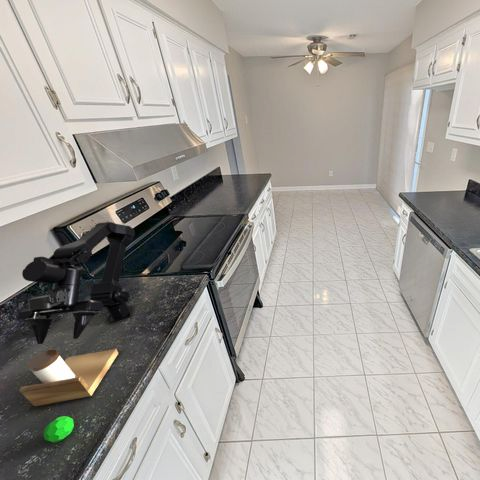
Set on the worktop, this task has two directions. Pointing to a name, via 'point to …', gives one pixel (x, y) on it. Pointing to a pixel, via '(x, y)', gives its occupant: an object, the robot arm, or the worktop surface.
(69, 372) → the cylinder
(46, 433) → the polyhedron
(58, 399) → the wooden ramp
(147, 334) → the worktop surface
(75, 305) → the robot arm
